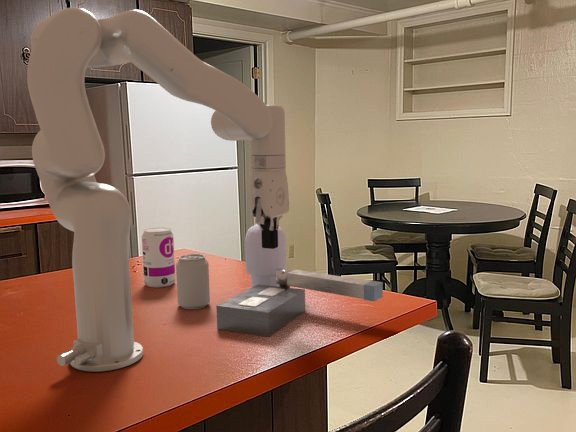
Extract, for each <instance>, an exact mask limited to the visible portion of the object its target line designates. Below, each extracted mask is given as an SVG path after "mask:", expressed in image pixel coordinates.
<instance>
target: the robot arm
mask: <svg viewBox="0 0 576 432" xmlns="http://www.w3.org/2000/svg"><path fill="white" fill-rule="evenodd" d="M30 35H31V36H30V47H31V50H30V55H29V57H28V62H27V63H28V64H27V70H26V71H27V72H26V74H27V75H26V76H27V77H26V79H27V88H28V94H29V97H30V101H31V104H32V107H33V110H34V113H35V114H34V115H35V117H36V121H37V122H38V123H37V124H38V125H39V128H40V130H39V131H38V132H37V134H36V135H35V137H34V139H33V141H32V146H31V155H32V161H33V164H34V168H35V170H36V172H37V173H36V174H37V176H38V178H39V181H40V184H41V187H42V189H43V192H44V194H45V197H46V199H47V203H48V205H49V207H50V210H51V212H52V214H53V216H54V218H55V220H56V221H57V222H58V223H59V224H60V226H62V227H63V228H65V229H67V230H69V231H70V232H73V233H74V234H73V244H72V254H71V257H72V258H71V261H72V262H71V264H72V265H71V266H72V277H73V278H72V279H73V289H74V290H73V291H74V305H75V316H76V319H75V320H76V329H77V330H76V332H77V339H75V340H73V342H72V343H73V346H72V347H71V348H70V350H69V351H65V352H63V353H61V354H59V355H57V357H56V362H57V364H58V365H59V366H61V367H64V366H66V365H68V364H70V366H71V367H72V368H74V369H76V370H78V371H81V372H82V371H83V372H93V373H94V372H99V373H100V372H108V371H114V370H119V369H122V368H125V367H129V366H131V365H133V364H134V363H136V362H138V361H139V360H141V358H142V357H143V355H144V347H143V345H142V344H141V343H139V342H137V341H135V339H134V338H135V337H134V336H135V335H134V322H133V304H132V301H133V299H132V288H131V287H132V286H131V285H132V284H131V271H130V270H131V268H130V251H129V250H130V233H131V226H132V211H131V207H130V203H129V201H128V199H127V197H126V196H125V195H124V193H122V191H120V190H119V189H118V188H116V187H114V186H112V185H110V184H107V183H101V182H100V183H99V182H98V181H97V179H96V177H95V175H96V174H97V173H98V172H99V171H100V170H101V169H102V167H103V165H104V164H105V163H104V162H105V159H106V152H105V147H104V143H103V141H102V138H101V135H100V132H99V130H98V127H97V123H96V121H95V118H94V114H93V112H92V109H91V106H90V103H89V98H88V96H87V91H86V85H85V77H86V76H85V75H86V71H87V68H100V67H102V68H103V67H111V66H119V65H124V64H128V63H130V64H131V63H132V64H133V65H134V66H135V67H136V68H138V69H139V70H140V71H142V72H143V73H144V74H146V76H148V77H149V78H150V79H151V80H153V81H154V82H155V83H156V84H158V85H159V86H160V87H161V88H162V89H164V90H165V91H166V92H167V93H169V94H170V95H171V96H173V97H176V98H177V99H180V100H183V101H186V102H190V103H195V104H198V105H202V106H205V107H207V108H209V109H211V110H214V111H213V113H212V115H211V118H210V119H211V120H210V126H211V130H212V131H213V132H214V134H215V135H216V136H217V137H219V138H221V139H222V140H225V141H230V142H231V141H232V142H233V141H234V142H235V141H238V142H239V141H249V147H250V148H249V151H250V153H249V154H250V172H251V177H250V178H251V179H250V200H249V201H250V203H249V204H250V214H251V215H252V217H253V218H254V219H255V221H254V222H255V225H256V224H260V229H261V232H262V248H268V249H275V248H277V247H278V230H276V229H278V228H279V227H280V226H279V225H280V220H281V219H282V218H283V217H284V215H286V214H288V213H289V211H290V200H289V199H290V198H289V195H290V193H289V184H288V176H287V164H286V162H287V161H286V158H287V157H286V115H285V109H284V108H283V107H282V106H281V105H278V104H266V103H265V102H264V101H263V100H262V99H261V98H260V97H259V96H258V95H257V94H256V93H255V92H254V91H253V90H252V89H251V88H250V87H248V86H247V85H245V84H244V83H243V82H242V81H240V80H238V79H237V78H235V77H233V76H232V75H229V74H227V72H224V71H222V70H220V69H218V68H217V67H215V66H213V65H210V64H208V63H207V62H205V61H202V59H200V58H199V57H198V56H196V55H195V54H194V53H193V52H192V51H191V50H189V48H187V47H186V46H184V44H182V42H180V41H179V40H178V39H177V38H176V37H175V36H174V35H173V34H172V33H171V32H169V31H168V30H167V29H166V28H165V27H164V26H163V25H162V24H160V23H159V21H157V20H156V19H155V18H154V17H152V16H151V15H150V14H148V13H147V12H145V11H143V10H140V9H130V10H125V11H123V12H120V13H118V14H116V15H113V16H111V17H107V18H99V19H97V18H96V17H95V15H94V14H93V13H92V12H90V11H88V10H86V9H85V8H81V7H67V8H63V9H60V10H58V11H57V12H55V13H53V14H52V15H50V16H49V17H47V18H45V19H43V20H41V21H40V22H38V24H37V25H36V26H35V27H34V29H33V30H32V32H31V34H30ZM263 215H265V216H263Z"/></svg>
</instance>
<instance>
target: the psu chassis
mask: <svg viewBox="0 0 576 432" xmlns="http://www.w3.org/2000/svg"><path fill="white" fill-rule="evenodd" d="M215 308H216V329H217V330H221V331H226V332H234V333H241V334H246V335H247V334H248V335H254V336H260V337H265V338H266V337H268V338H270V337H271V336H272V335H274V334H276V332H278V331H279V330H281V329H282V328H283V327H286V325H288V324H289V323H291V322H292V321H293V320H294V319H296V318H297V317H300V315H302V314H304V312H306V289H303V288H297V287H291V286H287V285H280V287H277V286H268V285H259V284H258V285H256V286H254V287H249V288H248V289H247V290H244V291H243V292H241V293H240V292H239V294H236V295H235V296H233V297H231V298H228V299H227V300H225V301H223V302H221V303H219V304H217V305H216V307H215Z"/></svg>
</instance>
